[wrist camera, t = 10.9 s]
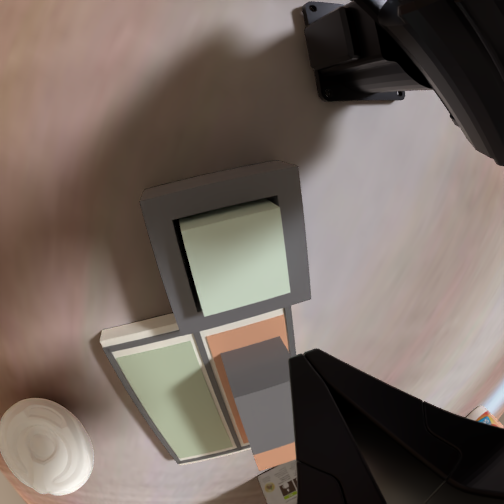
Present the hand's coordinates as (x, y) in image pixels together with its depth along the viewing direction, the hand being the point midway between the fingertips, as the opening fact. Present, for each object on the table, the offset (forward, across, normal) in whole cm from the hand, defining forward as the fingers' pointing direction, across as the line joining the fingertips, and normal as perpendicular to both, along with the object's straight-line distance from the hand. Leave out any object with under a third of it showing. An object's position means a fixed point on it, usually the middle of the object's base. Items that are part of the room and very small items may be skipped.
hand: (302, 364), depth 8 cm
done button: (+9, 0, 0) cm, 9 cm away
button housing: (+11, 0, 0) cm, 11 cm away
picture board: (+11, +3, +12) cm, 17 cm away
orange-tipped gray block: (+10, 0, +12) cm, 15 cm away
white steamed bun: (+11, +18, +11) cm, 24 cm away
